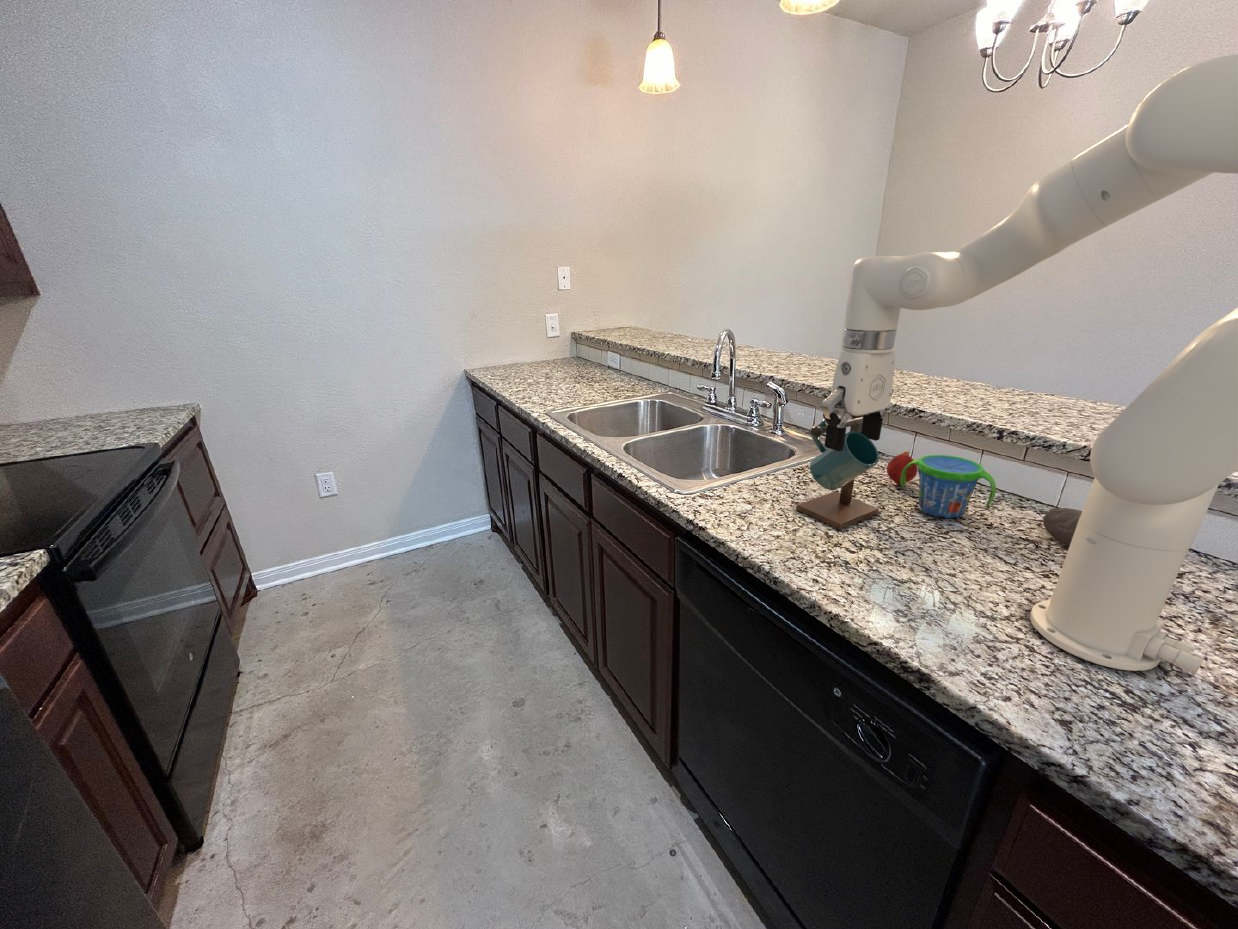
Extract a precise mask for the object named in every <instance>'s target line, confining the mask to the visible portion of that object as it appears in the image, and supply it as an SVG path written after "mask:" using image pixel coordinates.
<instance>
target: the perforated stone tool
mask: <svg viewBox="0 0 1238 929" xmlns="http://www.w3.org/2000/svg"><path fill="white" fill-rule="evenodd" d="M1082 511H1083V510H1080V509H1075V508H1068V507H1058V508H1057V507H1055V508H1050V510H1049V511H1047V513H1045V514H1044V516H1043V518H1042V523H1043V527H1044V528H1045V530H1046V532H1047V533H1048V534H1049V535H1050V536H1051V537H1052V538H1053V539H1055V540H1056V541H1058V542H1060V543H1063V544H1065V545H1066V547H1067V548H1069V547H1070V544H1071V541H1072V538H1073V535H1074V532H1075V530H1076V527H1077V524H1078V521H1079V518H1080V516H1081V514H1082Z"/></svg>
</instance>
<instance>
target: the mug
mask: <svg viewBox="0 0 1238 929" xmlns="http://www.w3.org/2000/svg"><path fill="white" fill-rule="evenodd" d="M816 426H818V427H823V426H827V425H826V424H825V419H823V420H822V421H821V422H820V423H818V424H817V425H816ZM808 435H809V436H810V438H811V439H812V441H813V442H814V444H815V445H816V447H817V449H818V451H819V453H818V454H817V455H816V456H815V457H814V458H812V459H811V461H810V464H809V471H810V474H811V476H812V478H813V479H814V481H815V482H816V484H818V485H819V486H820V487H822V488H823V489H825V490H827V491H836V490H839V489H841V487H842V486H844V485H845V484H847V483H848V482H850V481H851V480H853V479H854V480H855V479H856V478H858V477H859V476H861V475H862V474H864V473H866V472H867V471H869V470H870V469H872V468H874V467H875V466H876V465H877V464H878V463H879V460H880V459H879V458H880V454H879V452H878V449H877V446H876V445H875V444H874V442H873V440H871V439H869V438H868V437H867V436H865V435H863V434H862V433H860V432H855V431H852V432H850V431H848V432H846V435H845V441H844V448H843V451H840V452H839V451H836V450H833V449H830V448H826V447H825V444H823V442H822V441H821V439H820V438H819V437H816V438H815V437H812V436H811V435H810V431H809V433H808Z"/></svg>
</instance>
